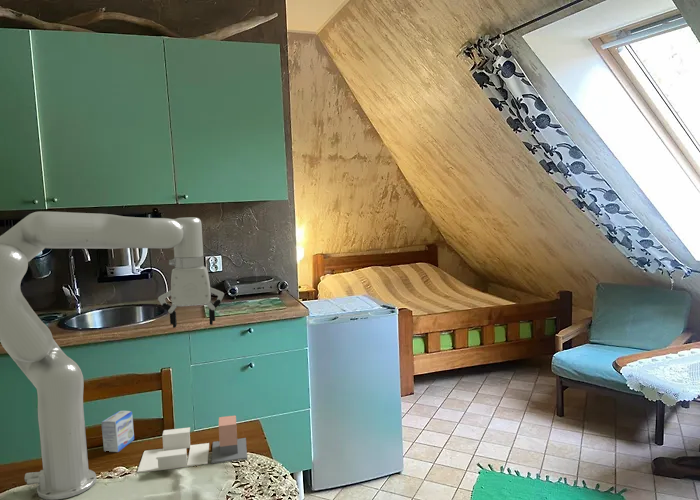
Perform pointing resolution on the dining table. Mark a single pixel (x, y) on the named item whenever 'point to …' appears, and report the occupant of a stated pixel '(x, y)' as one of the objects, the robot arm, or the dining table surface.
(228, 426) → the box
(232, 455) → the mat
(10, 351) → the robot arm
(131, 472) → the dining table surface
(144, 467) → the carton
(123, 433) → the medicine box
